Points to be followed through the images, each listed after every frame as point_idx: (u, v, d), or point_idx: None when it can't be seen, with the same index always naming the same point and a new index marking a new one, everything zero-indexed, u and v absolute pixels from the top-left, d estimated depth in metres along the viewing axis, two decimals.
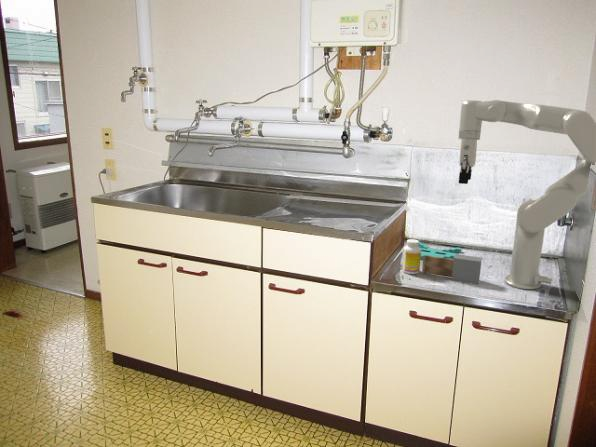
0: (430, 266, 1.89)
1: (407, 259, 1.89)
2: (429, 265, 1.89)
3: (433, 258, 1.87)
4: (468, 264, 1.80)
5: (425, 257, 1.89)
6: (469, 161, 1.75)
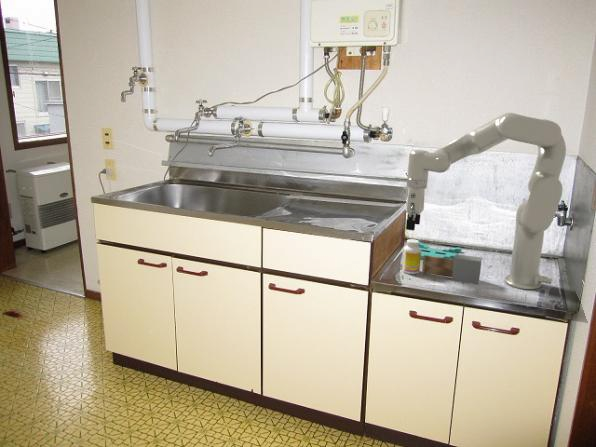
0: (430, 266, 1.89)
1: (407, 259, 1.89)
2: (429, 265, 1.89)
3: (433, 258, 1.87)
4: (468, 264, 1.80)
5: (425, 257, 1.89)
6: (415, 209, 1.81)
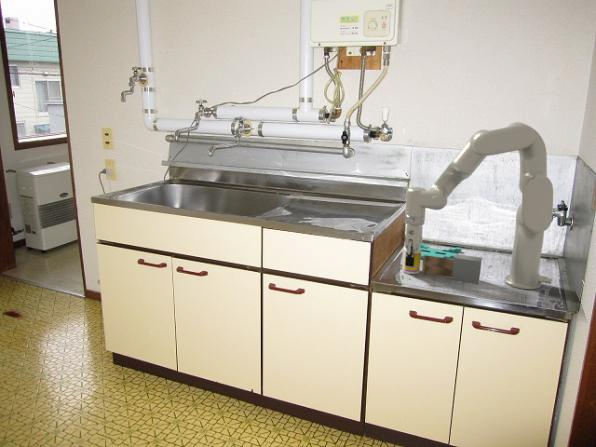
0: (430, 266, 1.89)
1: None
2: (429, 265, 1.89)
3: (433, 258, 1.87)
4: (468, 264, 1.80)
5: (425, 257, 1.89)
6: (413, 245, 1.85)
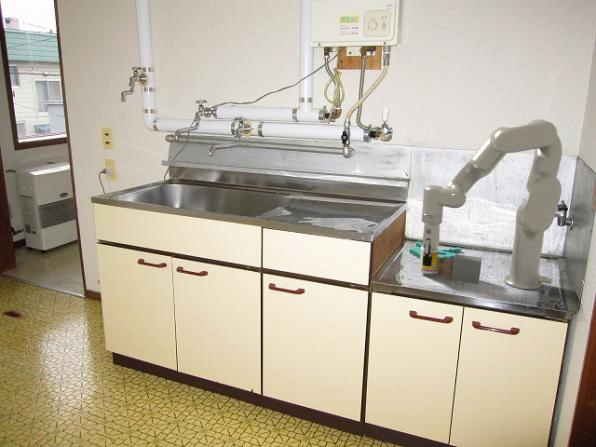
0: (444, 268, 1.86)
1: None
2: (444, 267, 1.86)
3: (447, 260, 1.85)
4: (468, 264, 1.80)
5: (439, 259, 1.86)
6: (431, 244, 1.82)
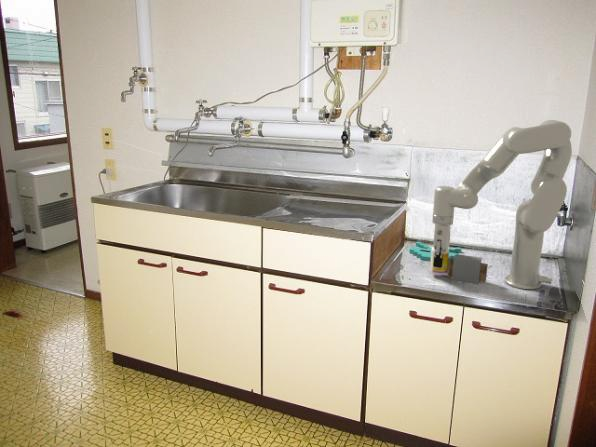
0: None
1: None
2: None
3: None
4: (468, 264, 1.80)
5: (450, 261, 1.85)
6: (442, 246, 1.80)
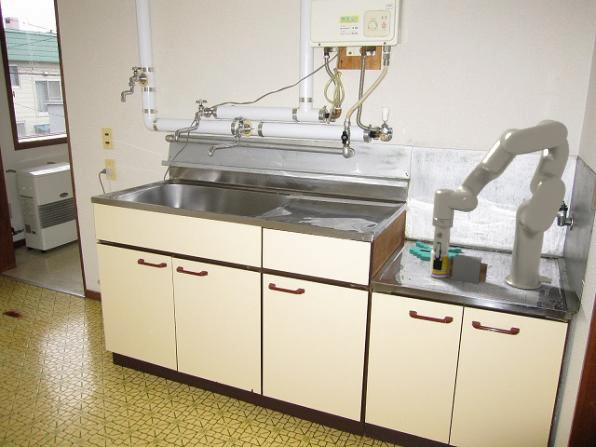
0: None
1: None
2: None
3: None
4: (468, 264, 1.80)
5: (450, 261, 1.85)
6: (442, 248, 1.81)
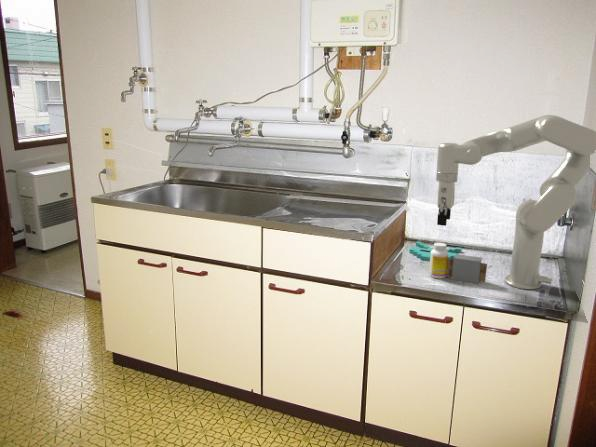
0: None
1: (434, 263, 1.85)
2: None
3: None
4: (468, 264, 1.80)
5: (449, 260, 1.85)
6: (447, 203, 1.76)
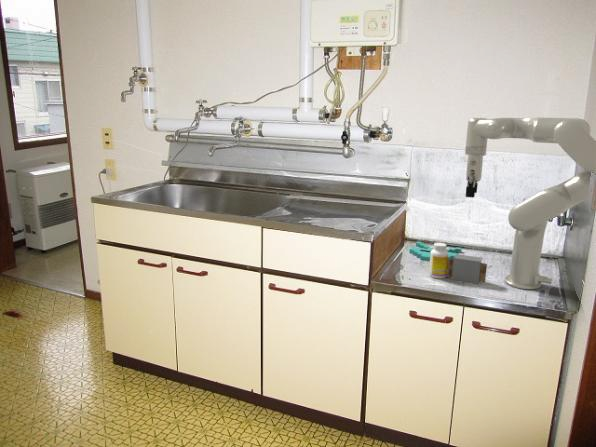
0: None
1: (434, 263, 1.85)
2: None
3: None
4: (468, 264, 1.80)
5: (449, 260, 1.85)
6: (475, 176, 1.83)
